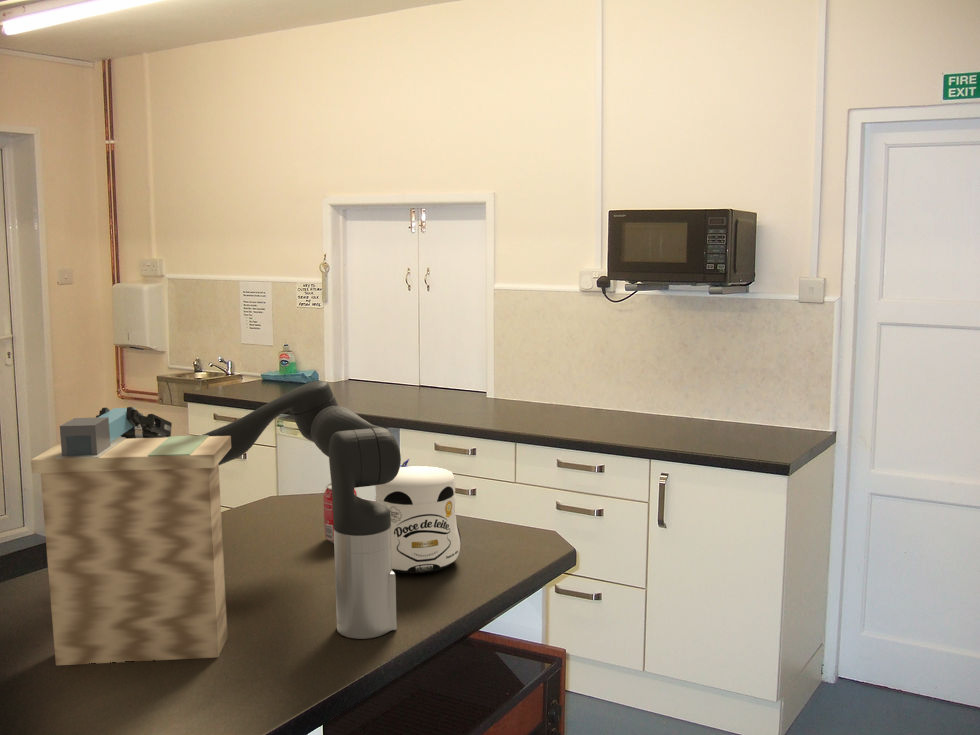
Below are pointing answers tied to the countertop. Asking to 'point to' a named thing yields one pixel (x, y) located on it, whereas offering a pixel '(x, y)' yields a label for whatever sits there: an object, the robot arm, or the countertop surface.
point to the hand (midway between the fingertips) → (116, 412)
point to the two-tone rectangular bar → (93, 433)
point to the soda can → (329, 513)
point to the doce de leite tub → (421, 519)
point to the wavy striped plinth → (136, 550)
